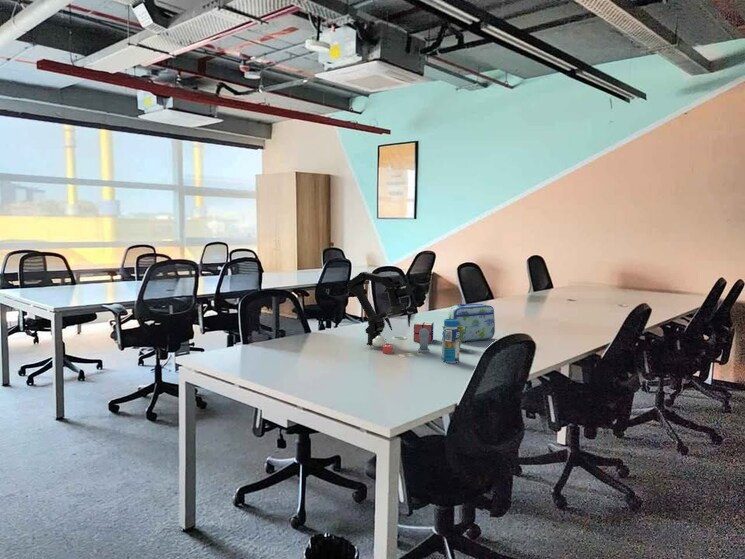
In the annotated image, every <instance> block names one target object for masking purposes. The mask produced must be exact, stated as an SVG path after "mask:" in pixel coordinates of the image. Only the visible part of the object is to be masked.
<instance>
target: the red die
mask: <svg viewBox="0 0 745 559" xmlns="http://www.w3.org/2000/svg"><path fill="white" fill-rule="evenodd" d="M382 354H388V355H389V354H393V344H386V345H383V350H382Z"/></svg>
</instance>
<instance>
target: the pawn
mask: <svg viewBox="0 0 745 559" xmlns="http://www.w3.org/2000/svg"><path fill="white" fill-rule="evenodd" d="M419 335H420V342H419V348H418V350H417V353H418V352H419V353H427V354H430V353H429V352H430V348H429V343H428V336H429V331H428V330H427V329H425V328H423V329H421V330H420V331H419Z"/></svg>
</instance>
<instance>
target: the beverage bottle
mask: <svg viewBox="0 0 745 559" xmlns="http://www.w3.org/2000/svg"><path fill="white" fill-rule="evenodd" d="M458 325H459V321H458V320H457V319H449V318H446V319H444V321H443V326H444V327H445V329H444V330H442V333H441V334H442V338H441V360H442V362H443V363H445V362H447V364H457V363H458V362H460V349H459V346H460V347H461V345H460V338H459V336H460V333H459V330H458V329H457V327H458ZM456 362H457V363H456Z"/></svg>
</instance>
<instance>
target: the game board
mask: <svg viewBox="0 0 745 559" xmlns="http://www.w3.org/2000/svg"><path fill="white" fill-rule="evenodd" d="M425 354H427V355H428V354H432V351H429V353H419V352H418V351H414V352H407V353H401V354H398V356H399V357H403V358H410V357H414V356H419V355H425Z"/></svg>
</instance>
